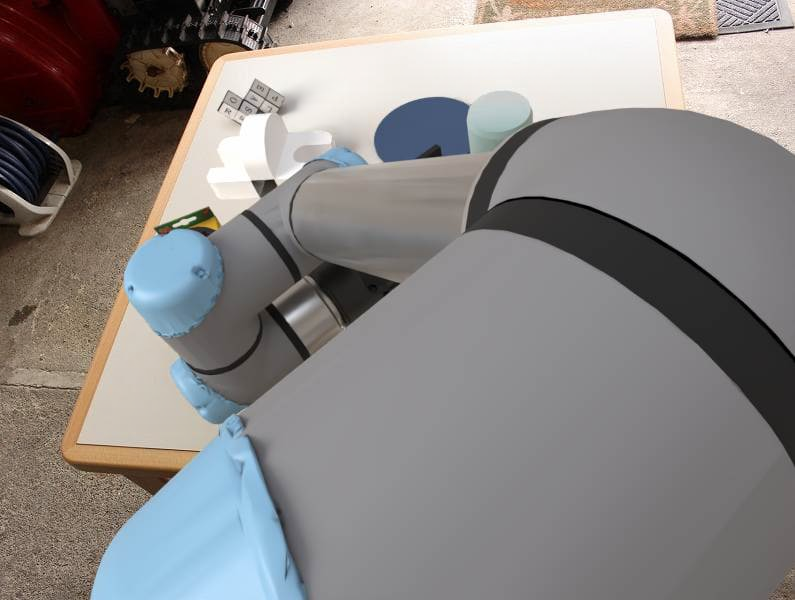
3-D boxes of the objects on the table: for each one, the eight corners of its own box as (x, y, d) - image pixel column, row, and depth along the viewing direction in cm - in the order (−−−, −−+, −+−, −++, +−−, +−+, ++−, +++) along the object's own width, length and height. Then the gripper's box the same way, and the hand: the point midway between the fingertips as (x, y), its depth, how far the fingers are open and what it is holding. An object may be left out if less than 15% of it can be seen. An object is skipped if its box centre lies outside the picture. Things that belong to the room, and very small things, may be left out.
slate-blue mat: (502, 140, 87) (502, 136, 87) (405, 190, 85) (405, 187, 85) (446, 86, 96) (445, 82, 96) (357, 130, 94) (356, 127, 94)
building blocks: (271, 116, 103) (228, 89, 100) (284, 97, 99) (239, 68, 96) (261, 137, 101) (216, 110, 97) (275, 119, 97) (228, 90, 93)
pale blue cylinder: (532, 259, 74) (532, 131, 58) (478, 260, 75) (464, 135, 59) (532, 219, 78) (532, 87, 61) (481, 220, 79) (468, 91, 63)
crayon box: (197, 299, 81) (153, 243, 71) (193, 283, 83) (150, 227, 73) (249, 277, 81) (212, 219, 72) (244, 261, 83) (208, 203, 74)
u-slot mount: (340, 147, 93) (322, 94, 85) (329, 194, 88) (309, 142, 80) (231, 155, 96) (204, 104, 88) (214, 200, 91) (184, 150, 83)
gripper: (272, 255, 70) (413, 156, 75) (408, 401, 57) (568, 268, 62) (247, 211, 64) (403, 106, 69) (393, 363, 51) (572, 219, 56)
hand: (481, 183), depth 65 cm, fingers open, 13 cm apart
